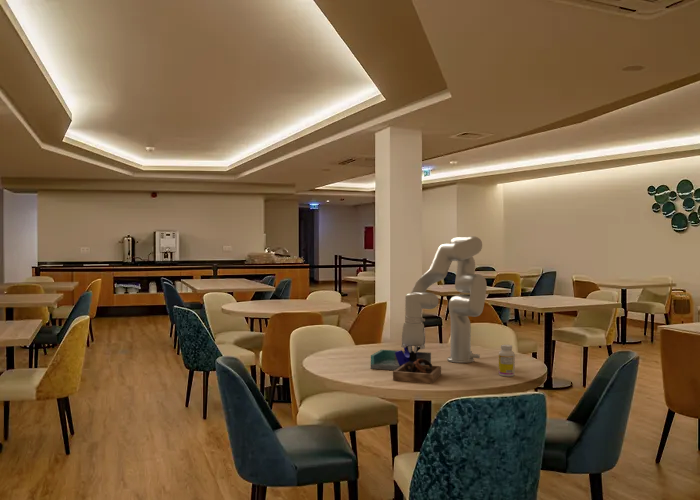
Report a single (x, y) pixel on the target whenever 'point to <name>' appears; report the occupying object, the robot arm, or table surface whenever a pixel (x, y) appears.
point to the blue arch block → (402, 356)
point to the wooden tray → (417, 374)
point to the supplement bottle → (506, 361)
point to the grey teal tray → (393, 359)
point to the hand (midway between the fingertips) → (412, 361)
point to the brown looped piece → (418, 366)
